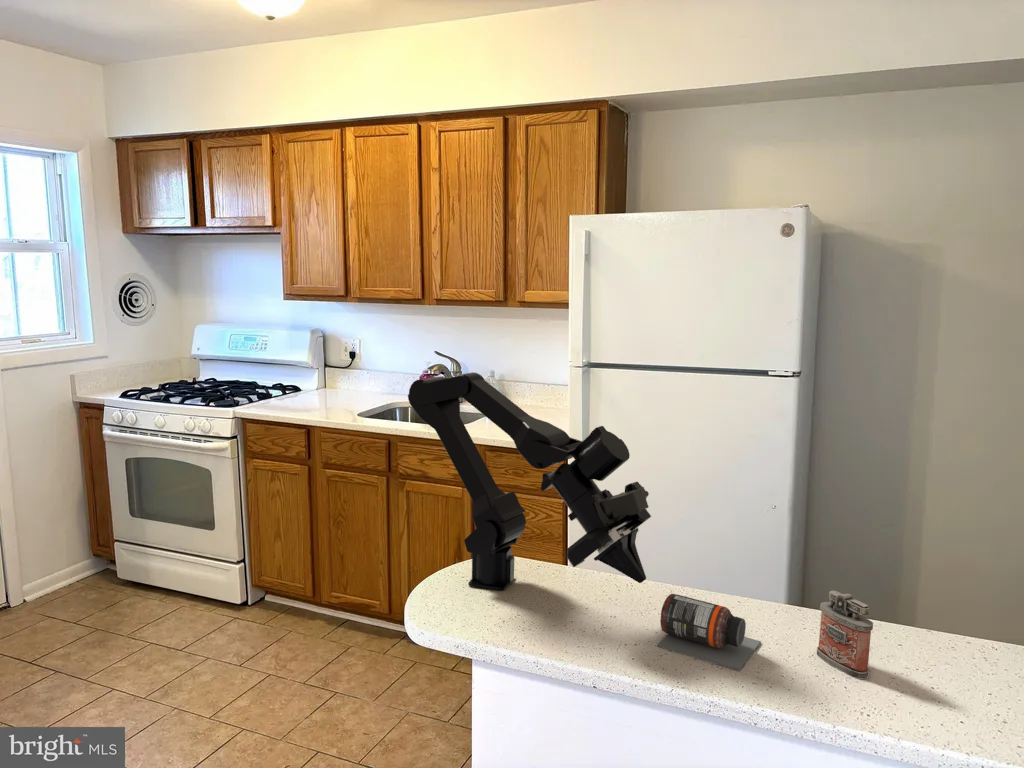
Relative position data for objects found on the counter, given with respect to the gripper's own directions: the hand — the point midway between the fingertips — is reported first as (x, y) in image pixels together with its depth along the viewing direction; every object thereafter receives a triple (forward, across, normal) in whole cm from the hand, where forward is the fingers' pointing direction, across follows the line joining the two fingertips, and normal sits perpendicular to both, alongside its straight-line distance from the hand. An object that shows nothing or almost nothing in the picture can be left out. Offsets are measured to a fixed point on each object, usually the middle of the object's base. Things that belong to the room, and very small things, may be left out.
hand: (643, 581), depth 115 cm
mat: (+12, 0, -3) cm, 13 cm away
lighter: (+25, +6, -15) cm, 29 cm away
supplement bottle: (+5, 0, 0) cm, 5 cm away
